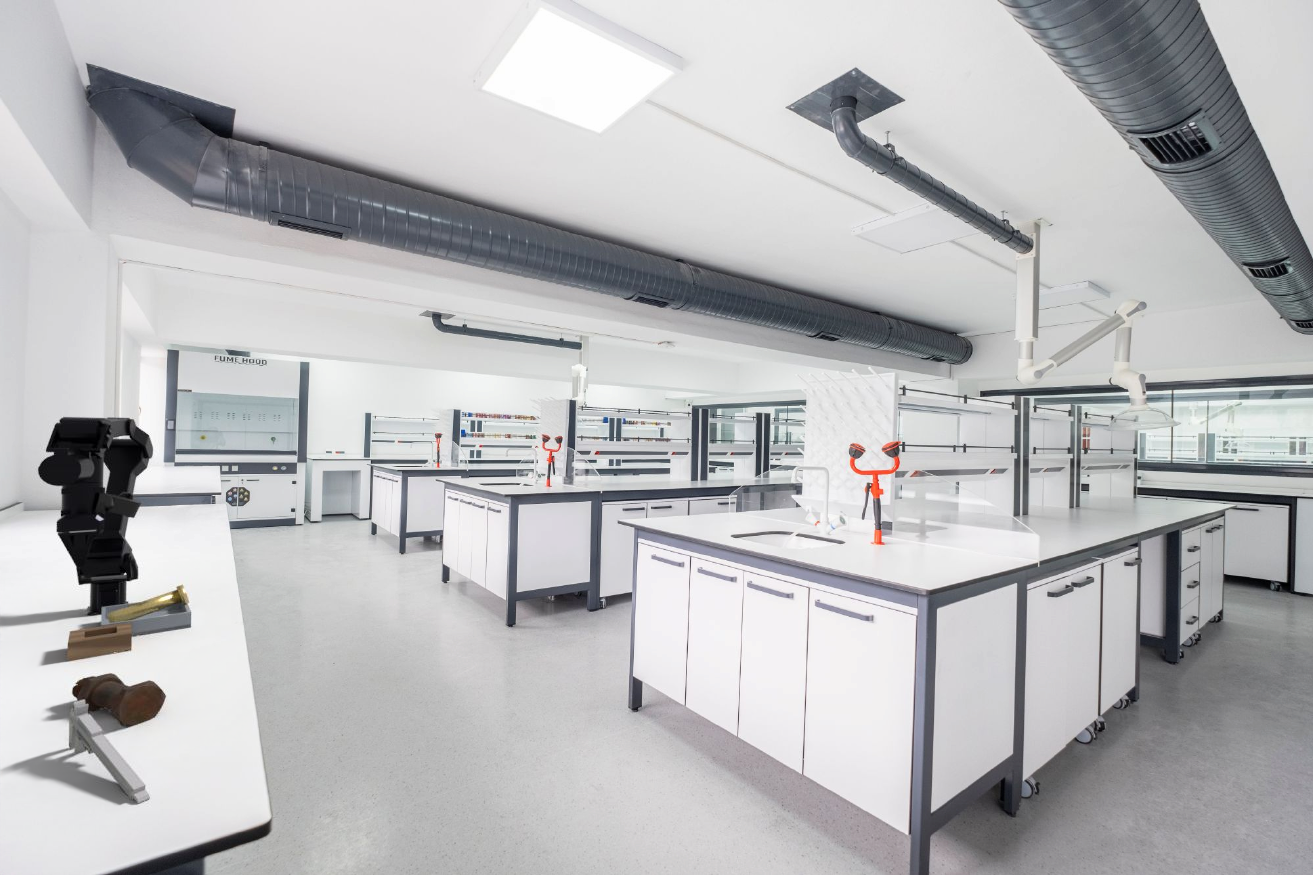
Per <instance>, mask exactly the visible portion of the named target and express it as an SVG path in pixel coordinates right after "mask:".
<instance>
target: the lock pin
mask: <svg viewBox="0 0 1313 875" xmlns="http://www.w3.org/2000/svg"><path fill="white" fill-rule="evenodd" d="M138 602H139V603H137V604H134V605H131V606H128V607H125V608H122V609H119V610H116V611H113V612H110V613H107V617H108V620H109V622H110V623H115V622H122V621H128V620H134V619H136V618H139V617H142V616H145V615H148V614H150V613H153V612H156V611H159V610H162V609H164V608H167V607H170V606H173V605H176V604H178V603H181V602H182V604H183V605H184V604H189V603H190V601H189V597H188V594H187V592H186V590H185V586H184V585H183V584H181V585H177V586H176V589H174V590H172V591H169V592H166V593H163V594H160V595H157V596H154V597H151V598H149V599H146V600H143V601H138Z"/></svg>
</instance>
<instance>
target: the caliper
mask: <svg viewBox="0 0 1313 875" xmlns="http://www.w3.org/2000/svg"><path fill="white" fill-rule="evenodd" d="M88 705H89V704H85V699H84V700H80V701H78V700H77V701H74V702H73V706H72V708H71V709H70V715H69V724H68V725H69V726H68V749H69V750H73V749H74V751H73V753H74V754H75V755H78V754H80V753H83V752H86V751H87V753H88V755H91V754H94V755H95V756H96V757H97V759H98V760H99V761H100V762H101V764H102V765H103V767H105V770H107V772H108V773H109V774H110V775H111V776H112V778H113V779H114V780H115V782H116V783H117V784H118V786H120V788H121V789H122V791H123V792H124V793H125V794H126V795H127V797H129V798H130V799H132V800H133V801H135V802H136V803H137V804H140V803H143V802H145V801H147V800H150V799H151V796H150V793H149V792H148V791H147V790H146V783H144V781H143V780H142V779H141V778H140V777H139V776H138V774H137V773H136V772H135V771H134V769H133V768H132V767H131V766H130V765H129V763H128V762H127V761H126V760H125V759H124V757H123V756H122V755H121V753H120V752H118V750H117V749H116V748H115V747H114V745H113V744H112V743H111V742H110V741H109V739H108V738H107V737H106V735H105V734H104V730H103V729H102V727H101V726H100V725H99V724H98V722H97V721H96V720H95V719H94V717H93V716H92V714H90V713H88V711H89V710H88Z"/></svg>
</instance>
